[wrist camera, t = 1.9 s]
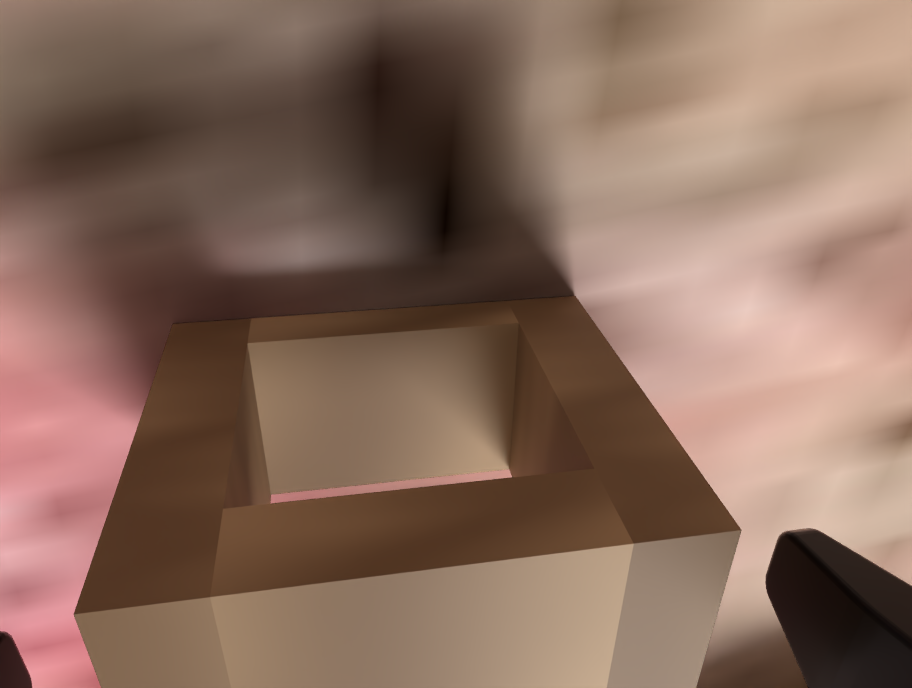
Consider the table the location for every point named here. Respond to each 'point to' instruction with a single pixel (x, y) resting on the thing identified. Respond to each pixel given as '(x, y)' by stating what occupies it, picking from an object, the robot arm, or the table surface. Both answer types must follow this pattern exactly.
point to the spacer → (405, 511)
